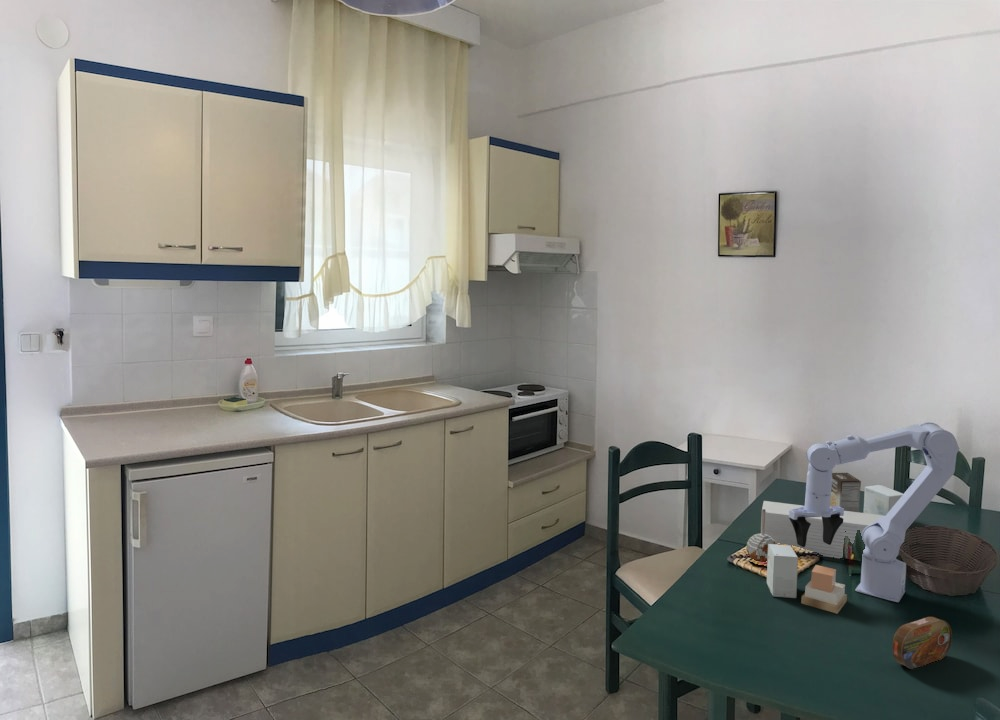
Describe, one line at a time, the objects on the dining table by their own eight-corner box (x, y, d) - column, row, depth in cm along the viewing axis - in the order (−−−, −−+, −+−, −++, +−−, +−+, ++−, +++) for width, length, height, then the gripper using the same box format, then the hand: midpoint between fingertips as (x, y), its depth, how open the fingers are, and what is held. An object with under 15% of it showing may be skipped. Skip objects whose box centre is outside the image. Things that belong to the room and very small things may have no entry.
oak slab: (846, 604, 163) (846, 594, 163) (837, 617, 157) (837, 606, 157) (811, 594, 169) (811, 585, 168) (801, 606, 162) (801, 596, 162)
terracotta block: (814, 580, 165) (815, 564, 165) (835, 585, 162) (836, 569, 162) (810, 587, 161) (811, 571, 161) (831, 592, 159) (832, 576, 158)
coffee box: (824, 520, 218) (827, 472, 216) (844, 521, 218) (847, 472, 216) (837, 531, 209) (841, 480, 207) (858, 531, 209) (862, 480, 207)
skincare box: (861, 517, 222) (863, 485, 220) (878, 515, 223) (880, 484, 222) (887, 528, 212) (889, 495, 210) (904, 526, 213) (906, 494, 212)
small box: (796, 599, 164) (798, 557, 163) (772, 597, 166) (774, 555, 164) (789, 584, 172) (791, 544, 171) (766, 582, 173) (767, 543, 172)
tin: (902, 673, 133) (905, 633, 132) (887, 665, 136) (890, 625, 135) (952, 656, 139) (955, 617, 138) (937, 649, 142) (940, 611, 141)
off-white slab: (844, 594, 163) (845, 584, 163) (836, 605, 158) (837, 595, 157) (813, 586, 168) (814, 576, 167) (804, 596, 162) (805, 586, 162)
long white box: (759, 547, 197) (761, 511, 196) (762, 535, 207) (763, 500, 205) (886, 566, 184) (888, 527, 183) (882, 552, 194) (884, 515, 192)
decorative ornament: (764, 570, 181) (766, 516, 179) (740, 560, 187) (742, 507, 186) (783, 564, 185) (785, 510, 183) (759, 554, 191) (761, 502, 190)
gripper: (804, 499, 164) (799, 552, 166) (854, 495, 168) (850, 548, 169) (785, 490, 171) (781, 541, 173) (834, 486, 175) (830, 537, 176)
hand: (814, 544), depth 171 cm, fingers open, 7 cm apart
